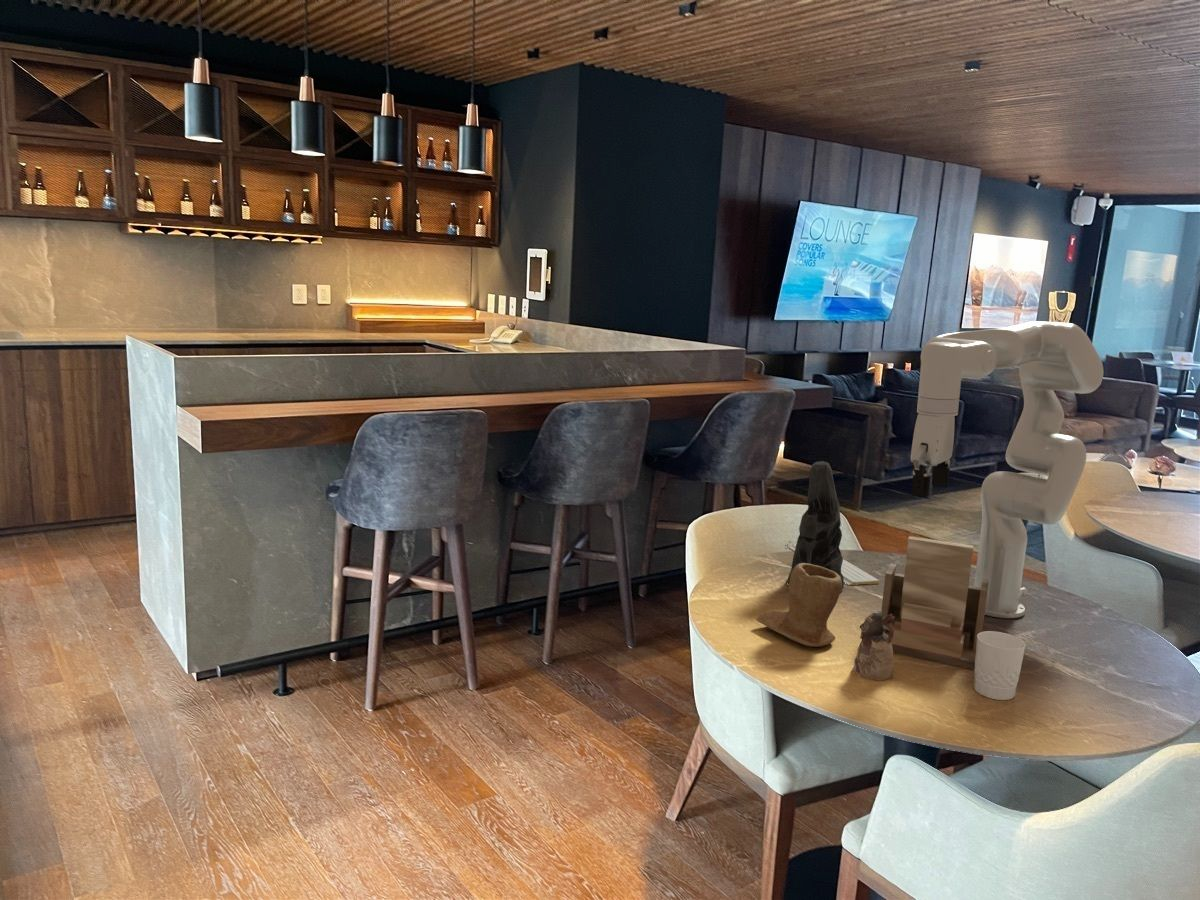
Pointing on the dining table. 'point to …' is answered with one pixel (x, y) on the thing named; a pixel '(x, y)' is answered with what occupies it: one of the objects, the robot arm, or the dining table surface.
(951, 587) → the birch sheet
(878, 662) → the figurine
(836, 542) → the dark tapered sculpture
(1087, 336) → the robot arm
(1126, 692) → the dining table surface
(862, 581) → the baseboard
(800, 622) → the clay boot figure
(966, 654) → the walnut rack
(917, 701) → the dining table surface
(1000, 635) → the white cup
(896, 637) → the offcut bundle
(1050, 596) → the dining table surface
